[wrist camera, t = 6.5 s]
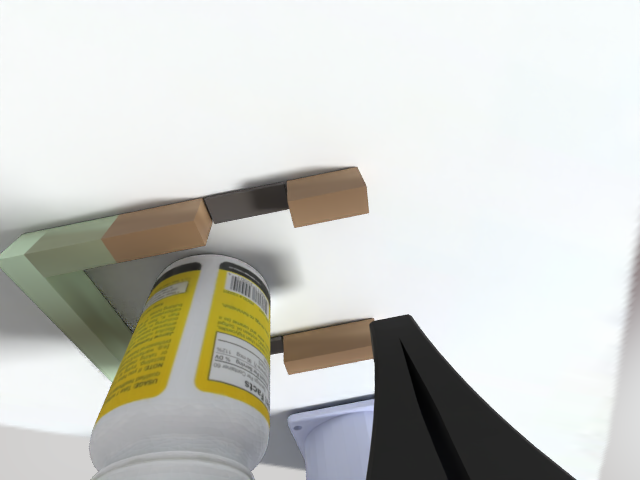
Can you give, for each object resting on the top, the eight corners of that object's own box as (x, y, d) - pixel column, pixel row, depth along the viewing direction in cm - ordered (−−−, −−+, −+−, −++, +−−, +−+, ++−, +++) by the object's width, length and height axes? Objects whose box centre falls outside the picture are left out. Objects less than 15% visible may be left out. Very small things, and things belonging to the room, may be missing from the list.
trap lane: (374, 331, 17) (382, 356, 16) (144, 376, 17) (133, 404, 16) (357, 166, 12) (366, 186, 10) (22, 234, 12) (-8, 260, 10)
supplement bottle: (159, 328, 15) (63, 594, 8) (150, 244, 12) (-2, 532, 6) (265, 332, 16) (258, 575, 9) (278, 255, 13) (279, 514, 7)
